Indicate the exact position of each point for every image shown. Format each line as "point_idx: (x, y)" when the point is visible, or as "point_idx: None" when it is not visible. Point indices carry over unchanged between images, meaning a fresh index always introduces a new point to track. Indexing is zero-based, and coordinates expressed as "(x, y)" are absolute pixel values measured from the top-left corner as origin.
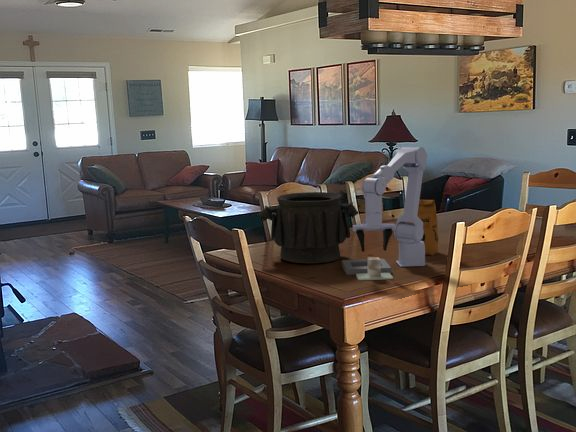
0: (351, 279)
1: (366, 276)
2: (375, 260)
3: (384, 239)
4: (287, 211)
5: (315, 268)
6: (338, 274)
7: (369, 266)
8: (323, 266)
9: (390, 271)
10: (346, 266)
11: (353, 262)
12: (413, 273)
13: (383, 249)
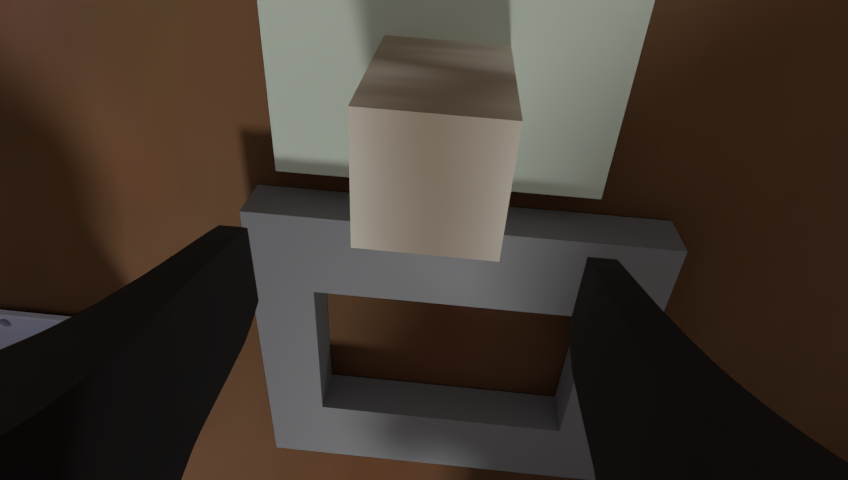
0: (707, 53)
1: (534, 71)
2: (427, 109)
3: (159, 398)
4: None
5: (818, 428)
6: (737, 249)
7: (514, 87)
8: None
9: (259, 192)
10: None
11: (528, 424)
12: (56, 136)
13: (254, 288)
